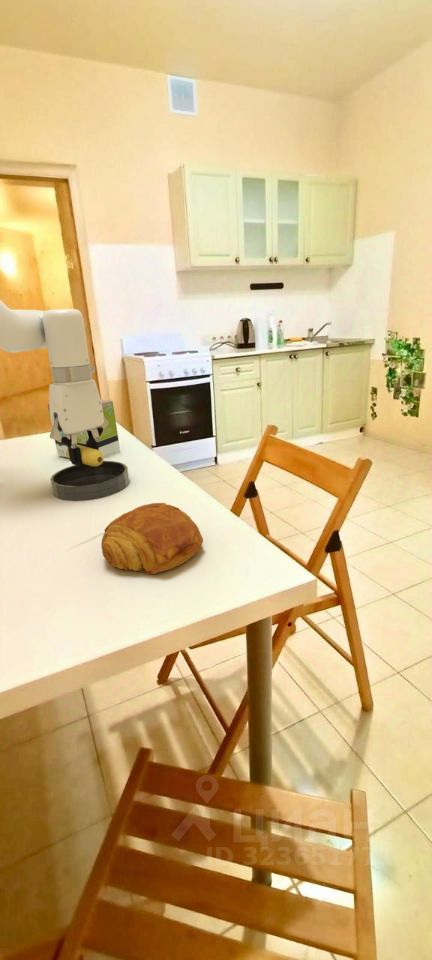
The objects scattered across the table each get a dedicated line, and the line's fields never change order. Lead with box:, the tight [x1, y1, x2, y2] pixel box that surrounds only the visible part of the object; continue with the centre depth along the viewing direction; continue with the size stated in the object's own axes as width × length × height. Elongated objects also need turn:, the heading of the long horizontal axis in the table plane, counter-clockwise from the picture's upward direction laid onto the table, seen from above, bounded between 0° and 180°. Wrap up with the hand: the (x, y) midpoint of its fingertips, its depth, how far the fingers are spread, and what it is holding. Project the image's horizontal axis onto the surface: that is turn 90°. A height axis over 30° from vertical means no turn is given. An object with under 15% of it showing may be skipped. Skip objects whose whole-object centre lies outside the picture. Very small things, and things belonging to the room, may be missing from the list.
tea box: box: [47, 399, 121, 459], centre depth 119 cm, size 15×10×15 cm
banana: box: [66, 445, 105, 467], centre depth 95 cm, size 11×4×4 cm, turn 50°
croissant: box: [101, 502, 204, 576], centre depth 68 cm, size 14×16×8 cm
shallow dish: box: [49, 460, 131, 502], centre depth 97 cm, size 16×16×4 cm
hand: (85, 461), depth 96 cm, fingers closed on banana, 3 cm apart
